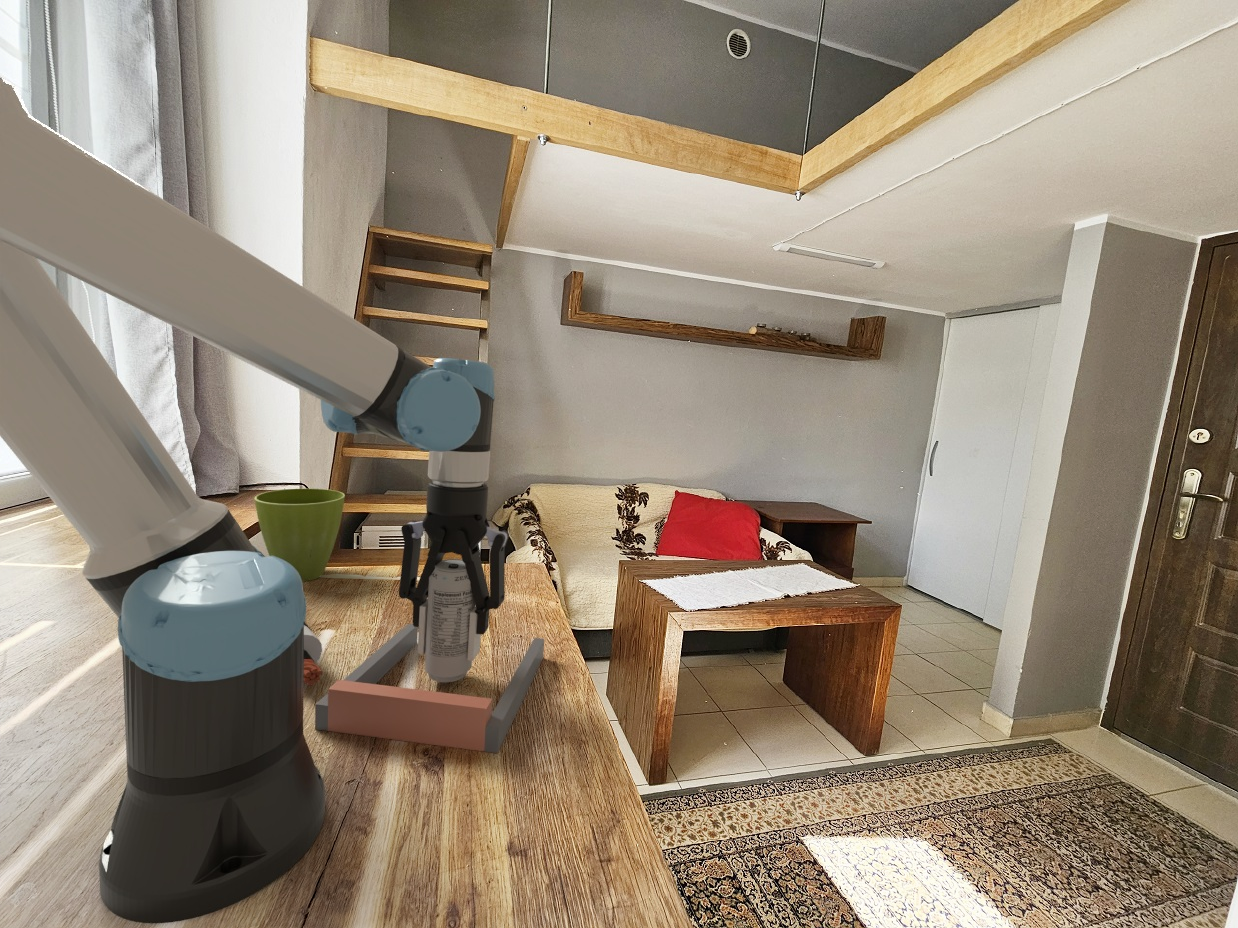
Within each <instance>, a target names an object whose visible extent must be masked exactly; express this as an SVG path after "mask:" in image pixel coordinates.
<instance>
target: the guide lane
mask: <svg viewBox="0 0 1238 928" xmlns="http://www.w3.org/2000/svg"><path fill="white" fill-rule="evenodd" d="M418 634H419V627H414V626H413V623H407V624H406V625H404V627H403V628H401V629H400V630H399V631H398V632H397V633H395V634H394V635H393V636H392V637H391V638H389V640H387V641H386V642H385V643H384V644H383V645H382V646H380V648H378V649H377V650H376V651H375V652H374V653H372V654H371V655H370V656H369V657H367V659H365V660H364V661H363V662H361V664H360V665H358V667H356V668H355V669H353V671H352V672H351V673H349V674H348V675H347V676H346V677H345V678H344V679H338V680H337V681H336V682H335V683H333V684H332V685H331V686H330V687H329V688H328V690H327V694H325V695H324V696H323V697H322V698H321V699H320V700H318V701H317V702H316V703H314V704H315V706H314V730H319V731H328V732H334V733H341V734H342V733H343V734H350V735H357V736H363V737H372V738H373V737H374V738H380V739H387V740H395V741H403V742H408V743H409V742H411V743H417V744H426V745H434V746H440V747H446V748H447V747H448V748H455V749H463V750H471V751H479V752H483V753H484V752H486V753H493V754H498V753H499V751H500V749H501V747H502V745H503V743H504V741H505V739H506V736H508V735H507V734H508V732H509V731H510V728H511V726H512V723H513V722H514V720H515V718H516V716H517V714H518V711H519V710H520V707H521V705H522V703H523V701H524V699H525V697H526V695H527V693H528V691H529V689H530V686H531V684H532V682H533V681H534V678H535V676H536V674H537V673H538V670H539V668H540V665H541V663H542V661H543V660H544V651H545V650H544V649H545V638H539V637H534V638H533V639H532V642H531V643H530V645H529V647H528V648H527V651H526V652H525V654H524V655H523V658H522V660H521V661H520V663H519V665H518V667H517V668H516V670H515V672H514V674H513V675H512V677H511V680H510V681H509V683H508V685H507V686H506V688H505V690H504V692H503V694H502V695H501V697H500V699H499V701H498V702H497V705H496V706H495V708H494V710H493V698H488V697H479V696H474V695H467V694H466V695H464V694H457V693H449V692H443V691H442V692H441V691H440V692H439V691H434V690H433V691H432V690H424V689H416V688H408V687H400V686H392V685H384V684H377V683H379V681H381V679H383V678H384V676H385V675H387V674H388V672H390V670H392V669H393V668H394V667H395V666H396V665H397V664H398V663H399V662H400V661H401V660H402V659H403V658H404V657H405V656H406V655H407V654H408V653H409V652H410V651H411V650H412V649H413V648H415V646H416V645H418ZM492 710H493V712H492Z"/></svg>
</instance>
